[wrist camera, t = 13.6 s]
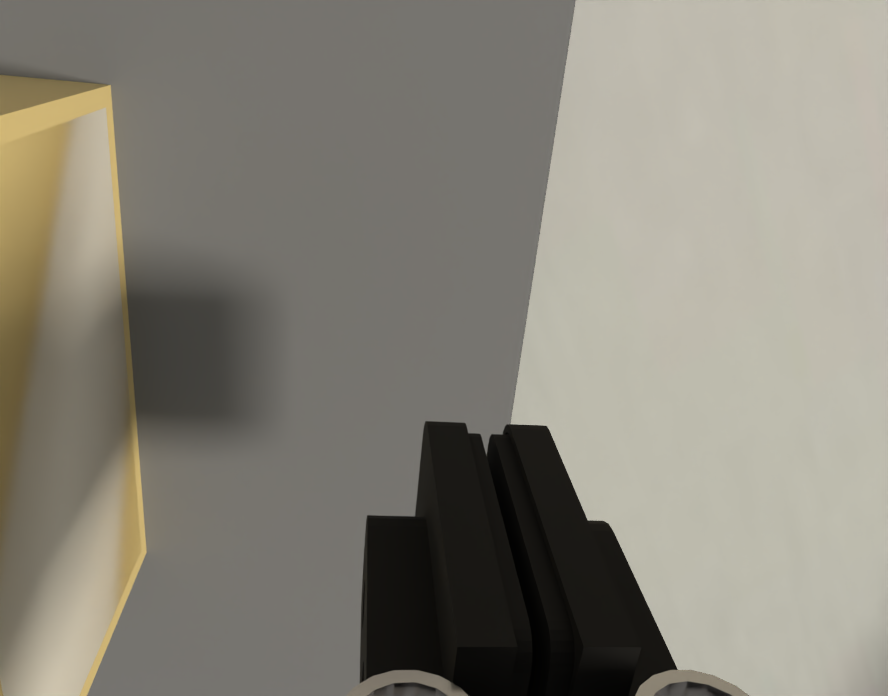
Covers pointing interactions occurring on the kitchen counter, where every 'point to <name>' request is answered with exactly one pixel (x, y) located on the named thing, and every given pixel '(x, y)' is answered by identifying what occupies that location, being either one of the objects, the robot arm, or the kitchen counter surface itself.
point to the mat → (302, 293)
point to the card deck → (63, 390)
